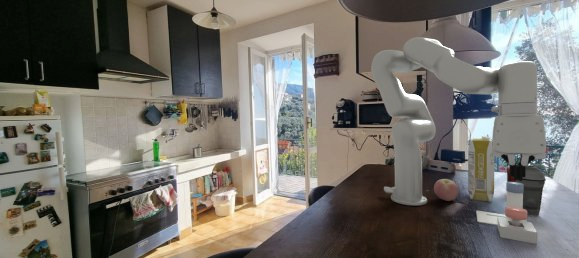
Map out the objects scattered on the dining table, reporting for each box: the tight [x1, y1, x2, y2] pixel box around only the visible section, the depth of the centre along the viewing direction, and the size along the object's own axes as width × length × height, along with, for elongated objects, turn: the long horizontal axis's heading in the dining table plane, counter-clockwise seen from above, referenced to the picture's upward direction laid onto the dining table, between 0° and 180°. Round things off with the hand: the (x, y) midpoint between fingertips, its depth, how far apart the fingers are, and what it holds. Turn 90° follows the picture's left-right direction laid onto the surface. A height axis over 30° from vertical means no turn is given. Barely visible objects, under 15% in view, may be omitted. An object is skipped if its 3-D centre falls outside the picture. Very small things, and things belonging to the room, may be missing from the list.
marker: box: [505, 181, 524, 221], centre depth 75 cm, size 4×4×11 cm
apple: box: [433, 178, 459, 202], centre depth 96 cm, size 8×8×8 cm
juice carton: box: [467, 136, 495, 203], centre depth 96 cm, size 9×8×24 cm
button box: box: [496, 217, 538, 245], centre depth 67 cm, size 7×7×3 cm
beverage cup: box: [516, 163, 547, 217], centre depth 81 cm, size 7×7×20 cm
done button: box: [504, 206, 528, 227], centre depth 67 cm, size 4×4×5 cm
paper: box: [475, 210, 527, 226], centre depth 77 cm, size 12×10×1 cm
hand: (517, 179), depth 66 cm, fingers closed
